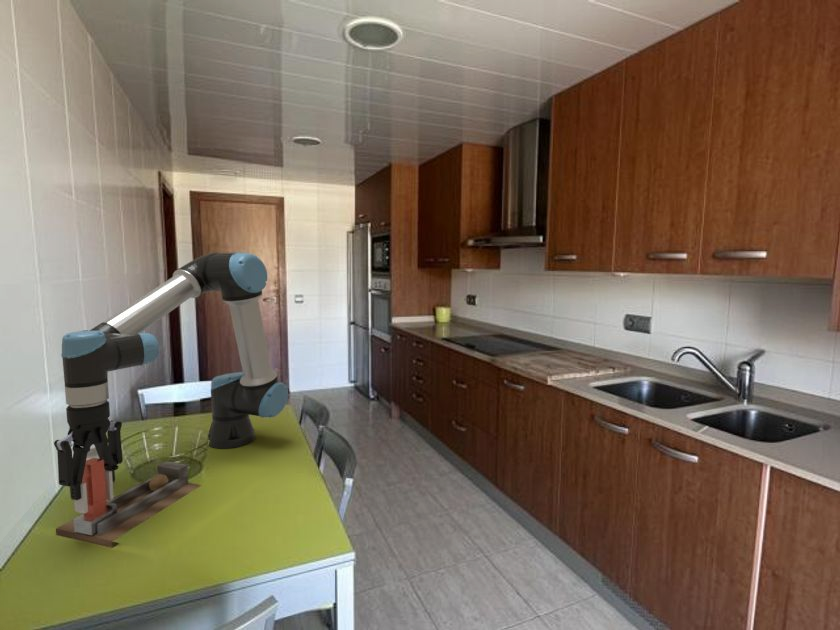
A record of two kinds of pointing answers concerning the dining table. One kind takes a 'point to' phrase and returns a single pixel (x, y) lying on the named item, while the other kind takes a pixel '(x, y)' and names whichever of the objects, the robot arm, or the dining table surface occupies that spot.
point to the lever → (94, 498)
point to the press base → (136, 506)
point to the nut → (158, 482)
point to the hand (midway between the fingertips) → (94, 504)
